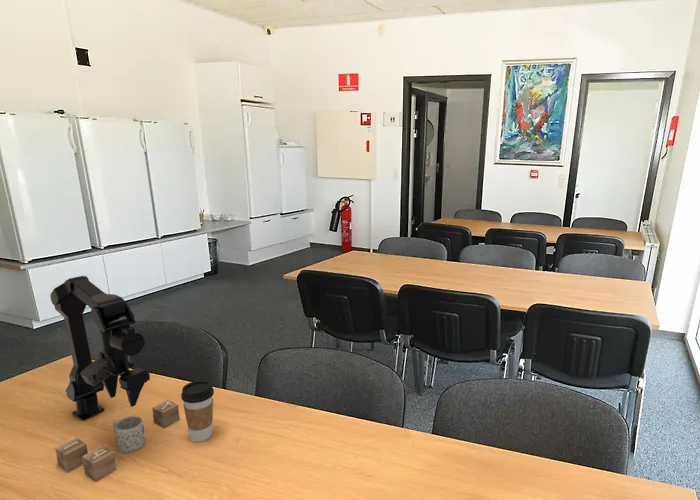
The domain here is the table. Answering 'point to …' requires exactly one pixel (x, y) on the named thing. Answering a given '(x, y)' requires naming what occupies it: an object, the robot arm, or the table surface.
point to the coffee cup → (198, 409)
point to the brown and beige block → (165, 413)
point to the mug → (129, 434)
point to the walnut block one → (71, 454)
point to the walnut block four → (99, 463)
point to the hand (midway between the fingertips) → (122, 401)
